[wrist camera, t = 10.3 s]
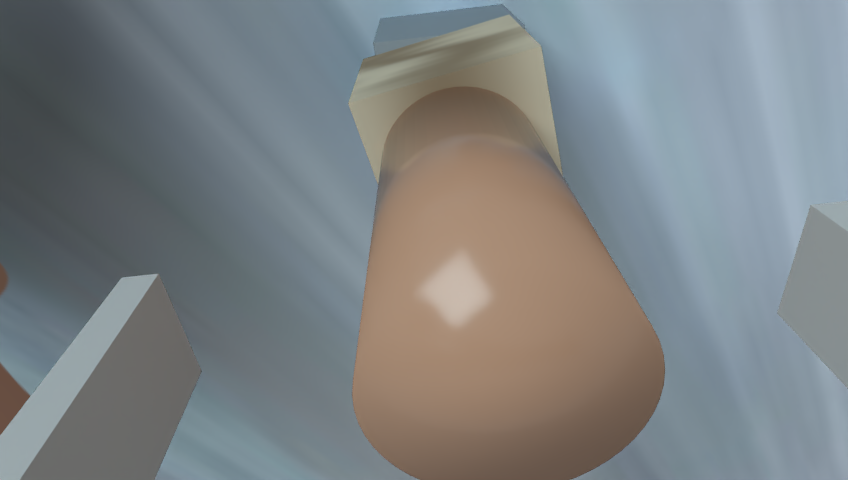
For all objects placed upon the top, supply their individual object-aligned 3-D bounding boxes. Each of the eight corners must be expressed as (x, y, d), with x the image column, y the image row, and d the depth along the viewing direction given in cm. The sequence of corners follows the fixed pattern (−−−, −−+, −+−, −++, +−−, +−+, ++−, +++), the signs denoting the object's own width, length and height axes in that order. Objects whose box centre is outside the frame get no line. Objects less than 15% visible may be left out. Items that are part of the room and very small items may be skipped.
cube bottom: (396, 134, 30) (393, 179, 24) (380, 18, 26) (373, 43, 21) (505, 122, 29) (525, 165, 24) (502, 4, 26) (524, 25, 21)
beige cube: (407, 188, 25) (405, 259, 20) (363, 59, 22) (348, 103, 17) (535, 153, 24) (570, 218, 19) (509, 14, 21) (540, 46, 16)
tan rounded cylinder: (391, 240, 19) (375, 503, 10) (370, 94, 16) (326, 284, 8) (538, 227, 19) (645, 482, 10) (541, 78, 16) (688, 253, 8)
